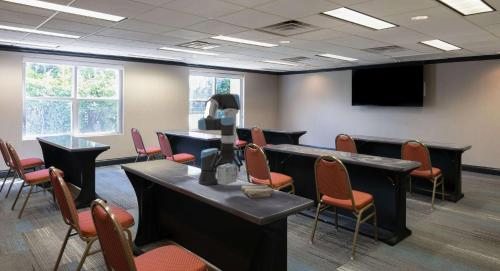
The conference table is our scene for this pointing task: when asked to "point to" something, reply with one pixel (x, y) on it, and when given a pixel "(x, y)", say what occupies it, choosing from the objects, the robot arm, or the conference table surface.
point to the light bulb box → (227, 173)
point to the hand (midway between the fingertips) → (227, 177)
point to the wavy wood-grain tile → (257, 190)
